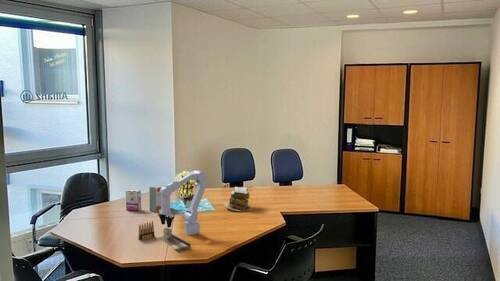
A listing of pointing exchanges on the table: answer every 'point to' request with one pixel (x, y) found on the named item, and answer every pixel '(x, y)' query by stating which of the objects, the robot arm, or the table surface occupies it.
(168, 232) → the block
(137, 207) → the candy bar box
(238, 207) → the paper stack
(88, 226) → the table surface
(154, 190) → the hard drive box
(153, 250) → the table surface
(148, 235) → the ammunition clip
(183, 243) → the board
